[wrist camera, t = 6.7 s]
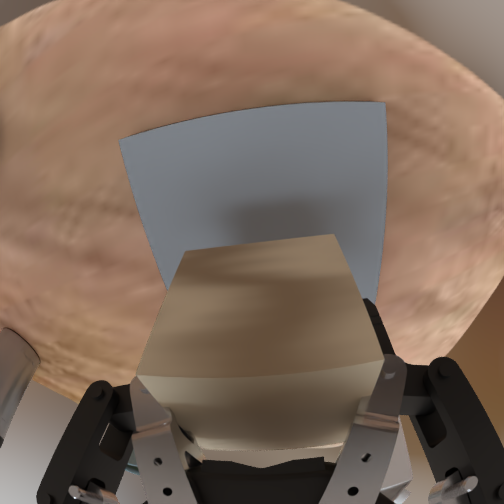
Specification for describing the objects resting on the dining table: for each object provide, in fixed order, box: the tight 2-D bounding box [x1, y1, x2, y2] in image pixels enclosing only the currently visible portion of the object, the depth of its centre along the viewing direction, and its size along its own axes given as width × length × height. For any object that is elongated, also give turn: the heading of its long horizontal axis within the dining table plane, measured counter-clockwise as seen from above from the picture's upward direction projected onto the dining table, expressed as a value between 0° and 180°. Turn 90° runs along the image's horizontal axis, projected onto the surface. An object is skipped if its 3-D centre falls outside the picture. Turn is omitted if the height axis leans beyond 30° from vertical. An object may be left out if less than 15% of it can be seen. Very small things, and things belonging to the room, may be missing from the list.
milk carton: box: [380, 417, 413, 504], centre depth 24 cm, size 7×7×19 cm
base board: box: [119, 101, 388, 305], centre depth 18 cm, size 16×16×2 cm
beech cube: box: [136, 234, 385, 451], centre depth 10 cm, size 6×6×6 cm
